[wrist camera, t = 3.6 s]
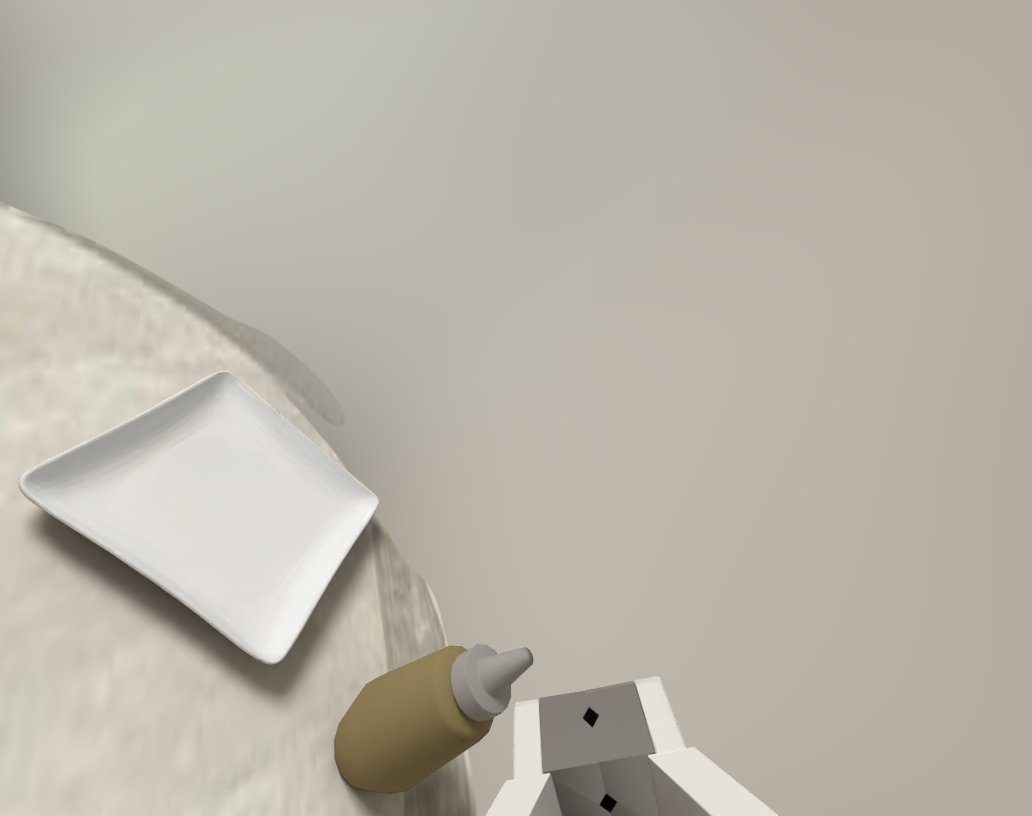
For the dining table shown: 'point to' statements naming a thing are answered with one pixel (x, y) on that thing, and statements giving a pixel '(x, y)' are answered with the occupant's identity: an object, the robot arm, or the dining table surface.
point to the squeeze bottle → (424, 715)
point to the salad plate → (214, 508)
